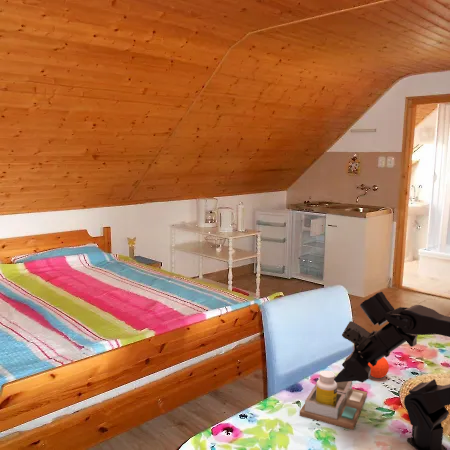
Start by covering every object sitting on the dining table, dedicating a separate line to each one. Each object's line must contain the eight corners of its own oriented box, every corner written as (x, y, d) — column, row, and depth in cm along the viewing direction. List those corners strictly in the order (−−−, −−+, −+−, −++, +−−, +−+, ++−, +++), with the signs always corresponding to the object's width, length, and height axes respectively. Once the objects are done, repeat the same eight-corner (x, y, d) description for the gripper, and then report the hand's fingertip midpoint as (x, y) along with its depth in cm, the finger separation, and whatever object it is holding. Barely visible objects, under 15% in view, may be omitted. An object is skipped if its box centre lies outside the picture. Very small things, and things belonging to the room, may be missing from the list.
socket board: (353, 429, 119) (353, 423, 119) (299, 415, 126) (299, 409, 125) (366, 396, 136) (367, 390, 136) (318, 385, 142) (319, 379, 142)
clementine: (357, 374, 149) (358, 353, 148) (370, 368, 153) (371, 347, 152) (380, 384, 143) (381, 362, 142) (392, 377, 147) (394, 355, 146)
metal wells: (337, 419, 122) (337, 409, 121) (304, 411, 125) (305, 400, 125) (351, 389, 137) (352, 379, 137) (322, 382, 141) (322, 373, 140)
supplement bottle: (336, 414, 124) (338, 379, 122) (315, 412, 125) (316, 377, 123) (335, 404, 129) (337, 370, 128) (315, 401, 130) (316, 368, 129)
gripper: (369, 304, 127) (327, 336, 134) (355, 326, 111) (308, 362, 117) (398, 337, 125) (354, 368, 132) (389, 365, 109) (339, 399, 115)
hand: (339, 373), depth 124 cm, fingers open, 9 cm apart
